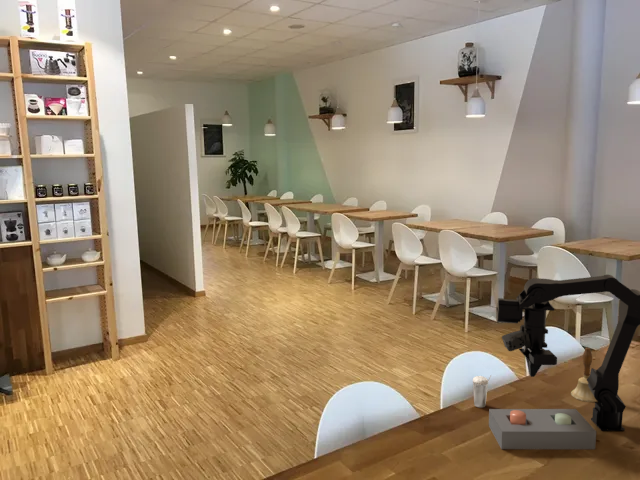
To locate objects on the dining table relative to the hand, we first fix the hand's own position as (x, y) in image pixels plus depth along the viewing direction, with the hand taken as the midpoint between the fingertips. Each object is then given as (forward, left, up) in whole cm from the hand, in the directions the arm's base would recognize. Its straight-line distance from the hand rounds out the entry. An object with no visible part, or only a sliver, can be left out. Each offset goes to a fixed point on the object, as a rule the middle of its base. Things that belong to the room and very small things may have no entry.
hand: (532, 376), depth 151 cm
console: (+1, +10, -13) cm, 16 cm away
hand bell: (-22, -14, -13) cm, 29 cm away
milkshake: (+12, -8, -13) cm, 20 cm away
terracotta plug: (+7, +10, -11) cm, 17 cm away
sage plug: (-5, +10, -12) cm, 17 cm away
